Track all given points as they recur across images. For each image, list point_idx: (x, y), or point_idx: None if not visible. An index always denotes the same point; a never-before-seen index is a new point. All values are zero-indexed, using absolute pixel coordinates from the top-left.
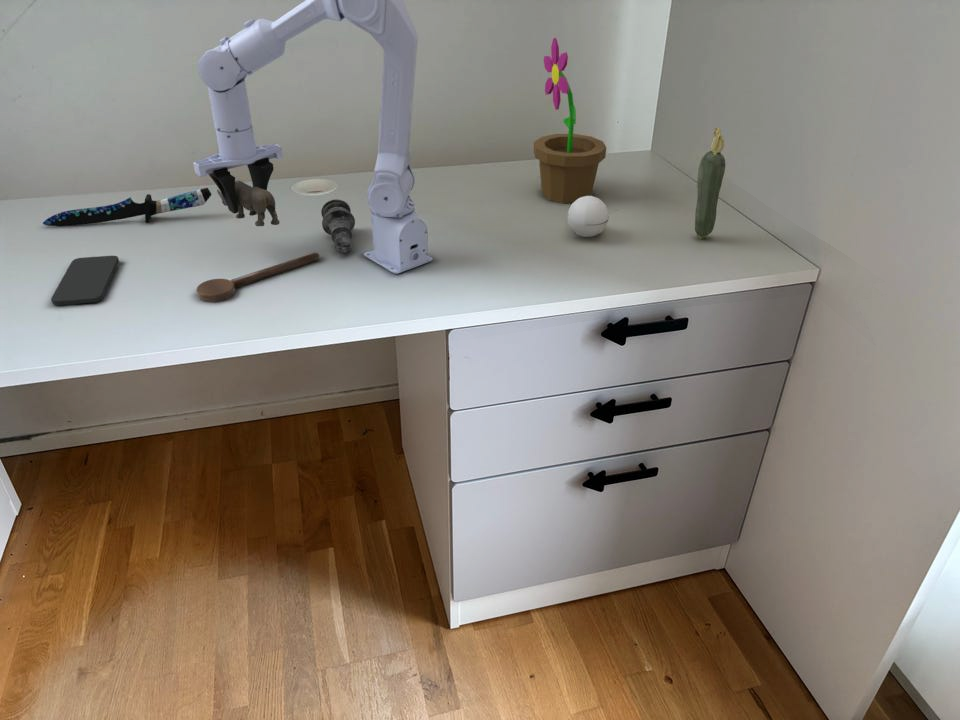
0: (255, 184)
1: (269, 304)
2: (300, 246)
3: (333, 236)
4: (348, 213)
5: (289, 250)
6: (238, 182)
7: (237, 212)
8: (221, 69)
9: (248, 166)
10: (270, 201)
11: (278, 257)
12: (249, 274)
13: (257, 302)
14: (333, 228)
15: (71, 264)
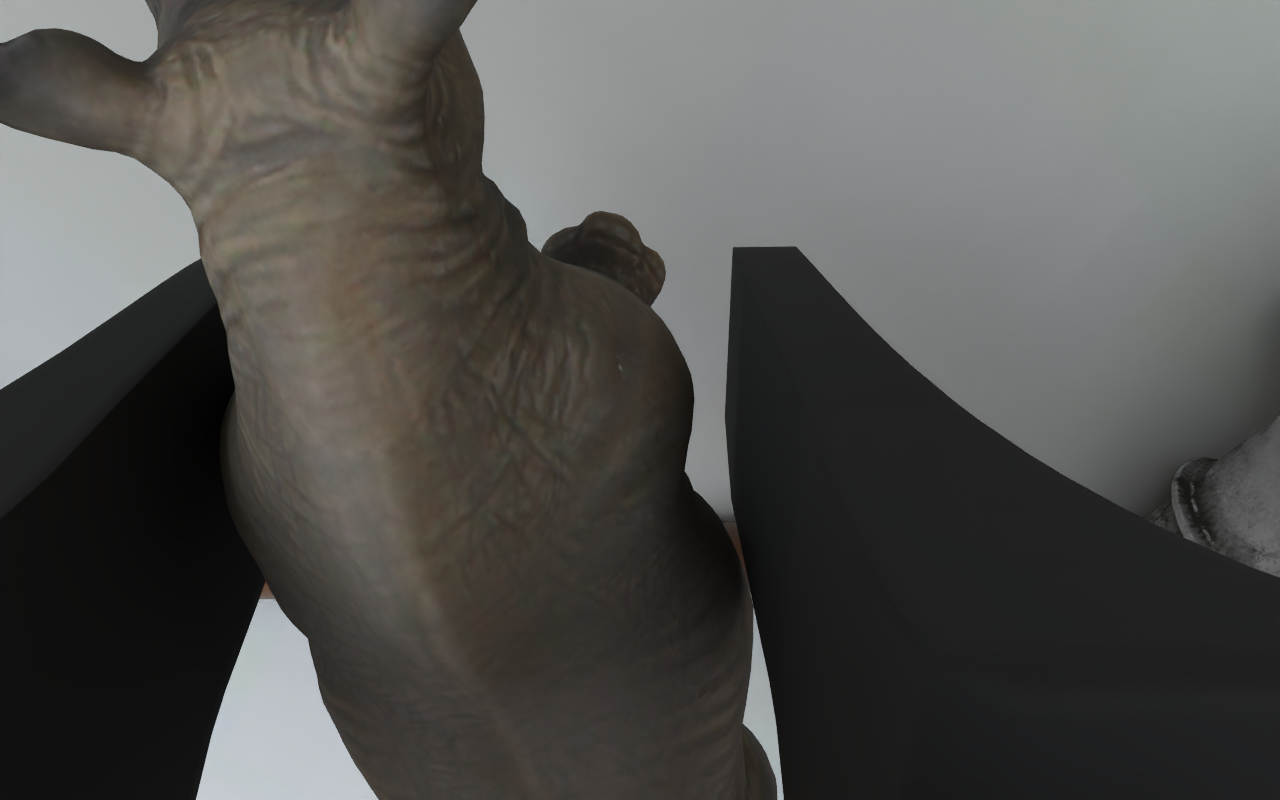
0: (790, 530)
1: (290, 792)
2: (966, 245)
3: (1182, 534)
4: None
5: (833, 256)
6: (376, 630)
7: None
8: None
9: (884, 668)
10: None
11: (668, 317)
12: (262, 590)
13: (231, 747)
14: (1263, 528)
15: None
